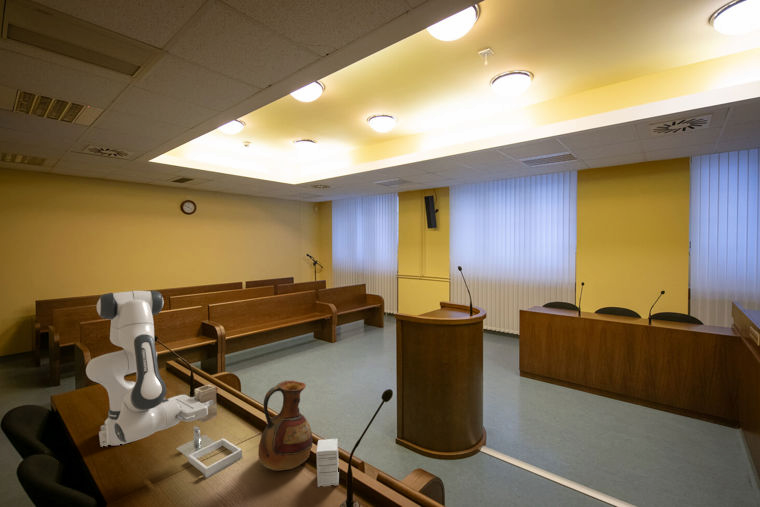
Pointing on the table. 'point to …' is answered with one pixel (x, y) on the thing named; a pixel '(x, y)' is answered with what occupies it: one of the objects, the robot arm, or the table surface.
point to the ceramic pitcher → (285, 431)
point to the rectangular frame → (219, 464)
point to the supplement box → (327, 462)
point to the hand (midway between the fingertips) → (208, 399)
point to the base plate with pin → (195, 443)
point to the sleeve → (203, 396)
